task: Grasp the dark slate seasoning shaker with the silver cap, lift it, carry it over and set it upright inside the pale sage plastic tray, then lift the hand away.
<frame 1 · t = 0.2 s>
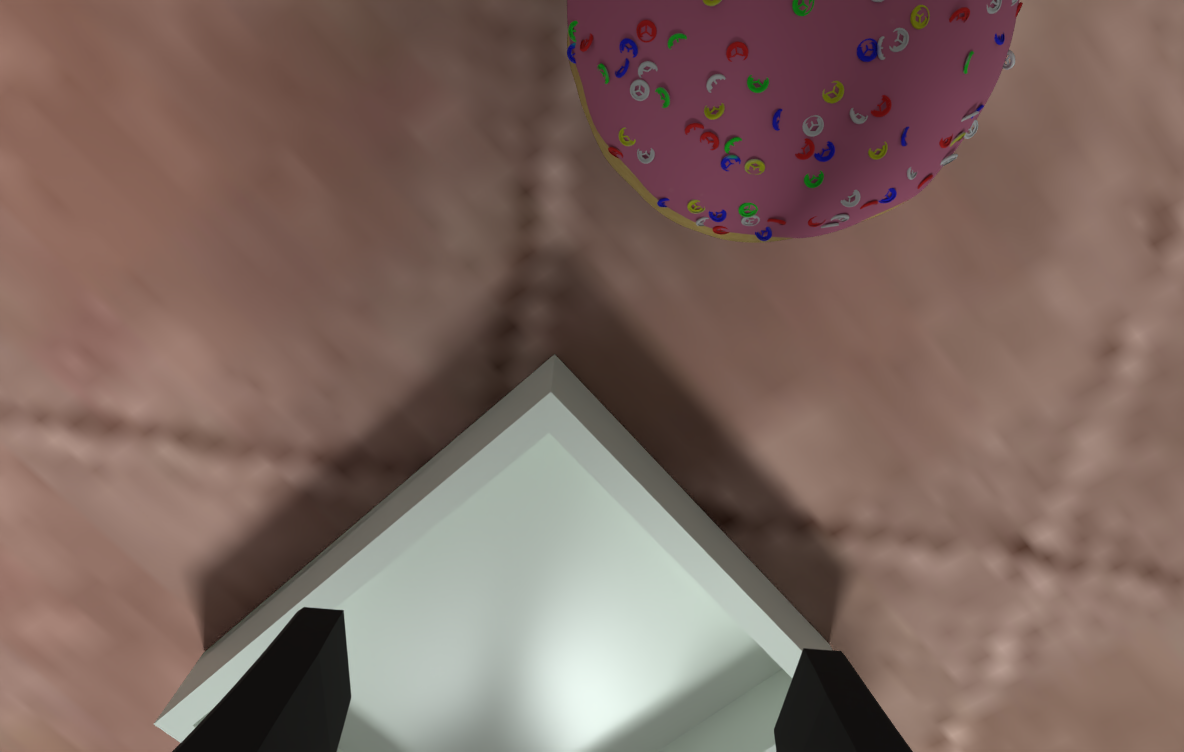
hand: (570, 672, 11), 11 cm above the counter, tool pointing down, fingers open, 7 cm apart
tray: (518, 648, 24), on the counter
cupcake: (737, 44, 18), on the counter
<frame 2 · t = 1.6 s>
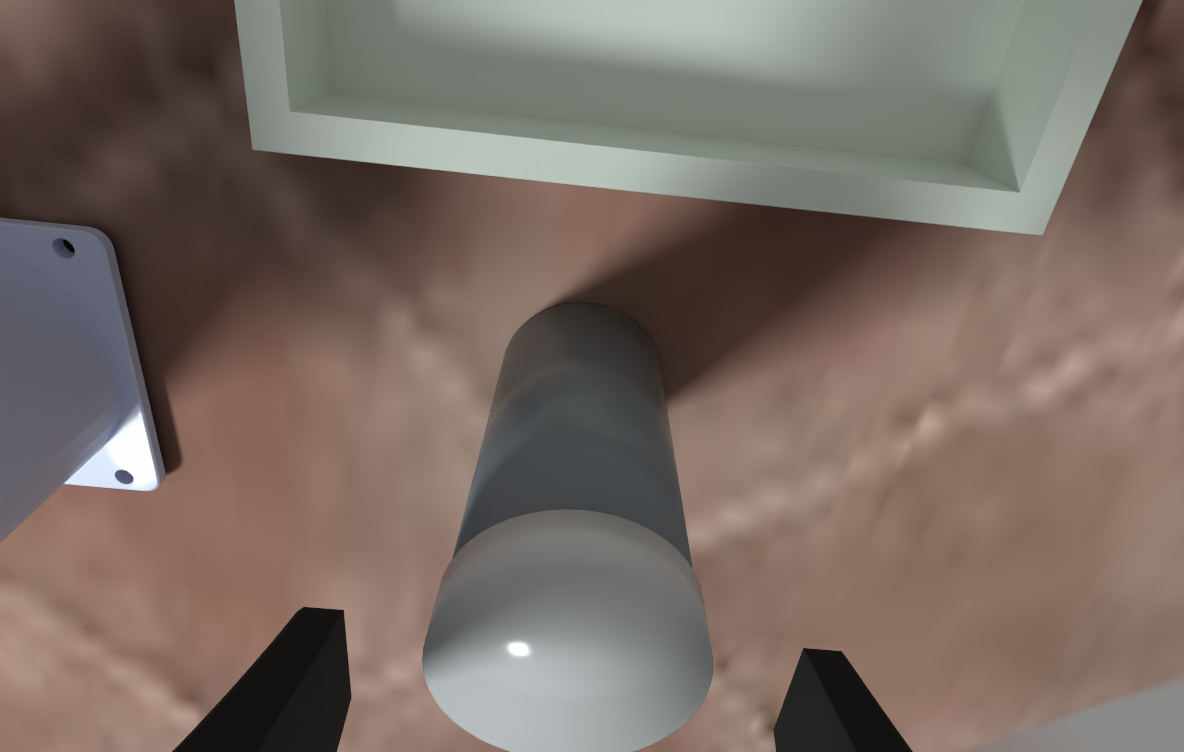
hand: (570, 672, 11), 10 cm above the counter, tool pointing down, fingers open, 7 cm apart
shaker: (581, 375, 20), on the counter
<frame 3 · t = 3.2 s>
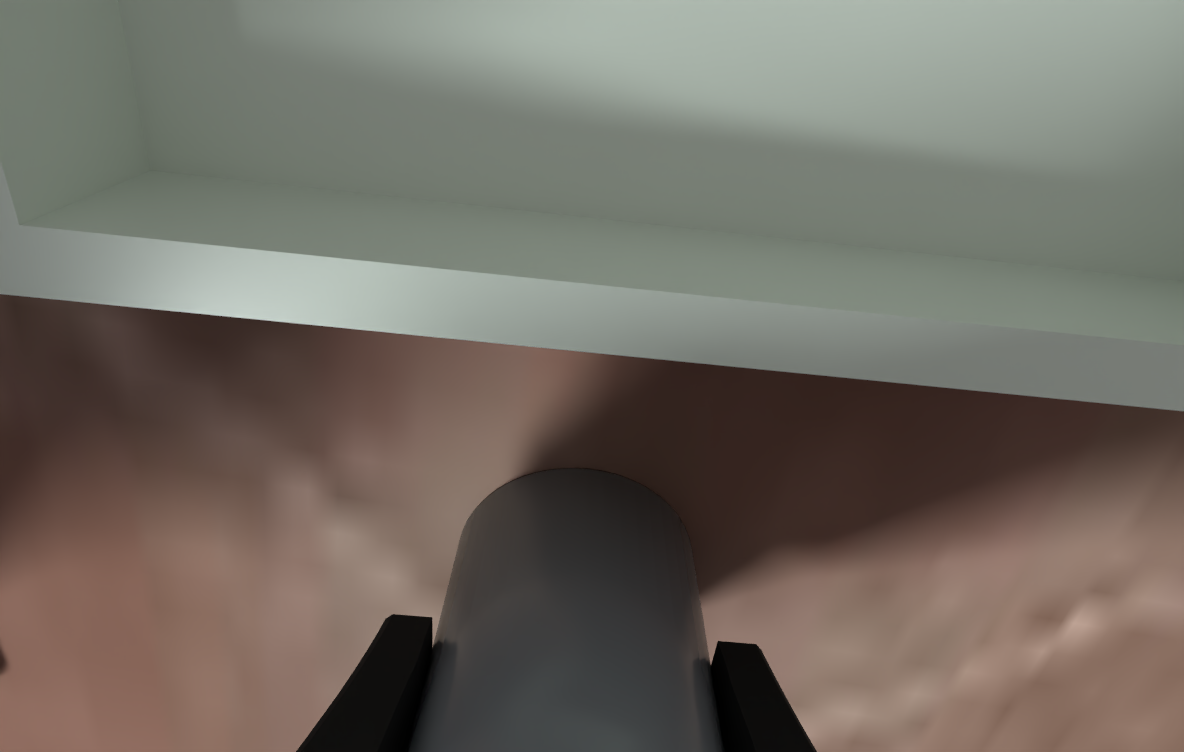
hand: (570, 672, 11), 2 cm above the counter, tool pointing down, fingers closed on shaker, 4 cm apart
shaker: (575, 563, 13), on the counter, touching gripper
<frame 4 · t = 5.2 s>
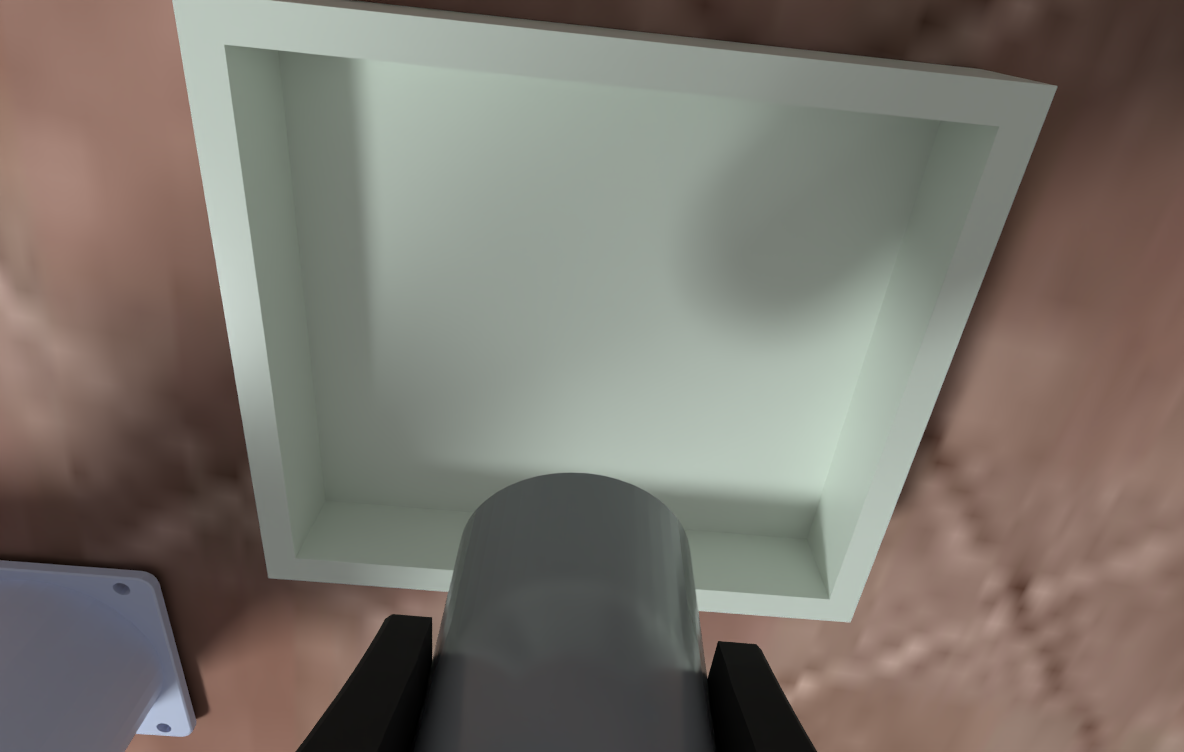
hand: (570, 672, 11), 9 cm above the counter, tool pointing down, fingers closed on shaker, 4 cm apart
tray: (589, 323, 19), on the counter
shaker: (574, 560, 14), point 7 cm above the counter, touching gripper
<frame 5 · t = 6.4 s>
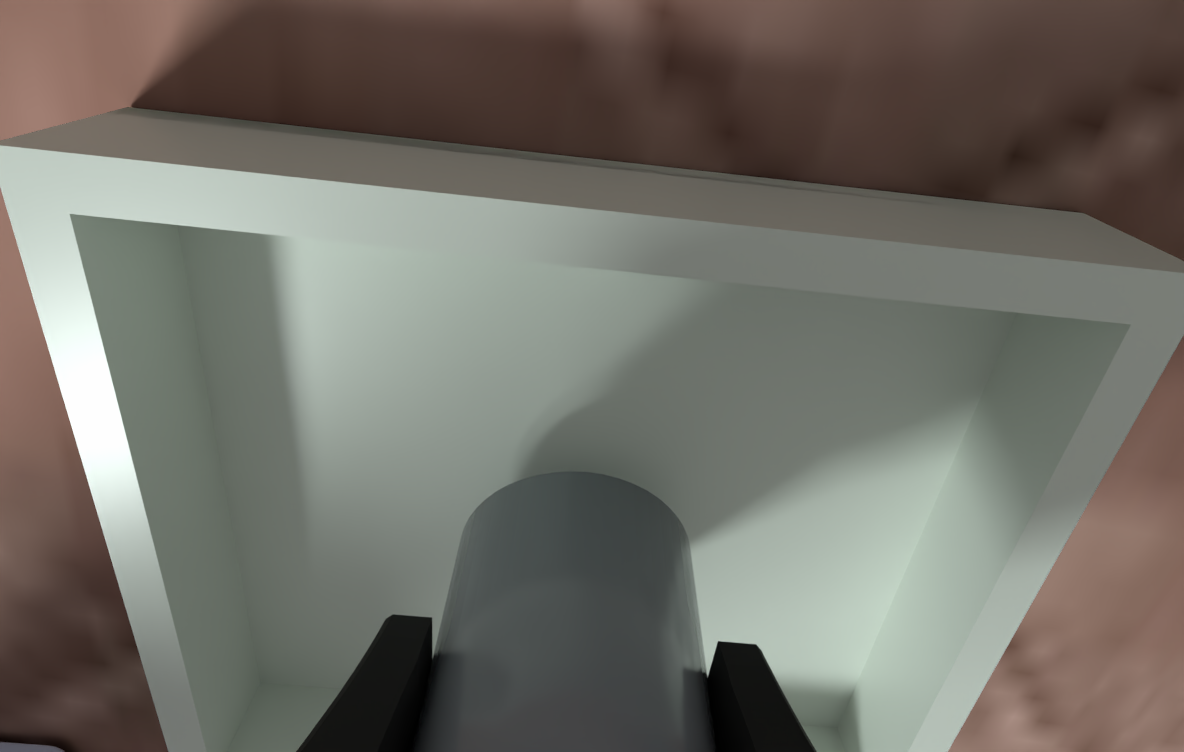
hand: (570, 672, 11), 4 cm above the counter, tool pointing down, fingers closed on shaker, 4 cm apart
tray: (578, 493, 15), on the counter
shaker: (575, 559, 14), point 2 cm above the counter, touching gripper
when the fingers open (4 cm above the counter, at t = 7.1 s): shaker drops 1 cm, resting on tray.
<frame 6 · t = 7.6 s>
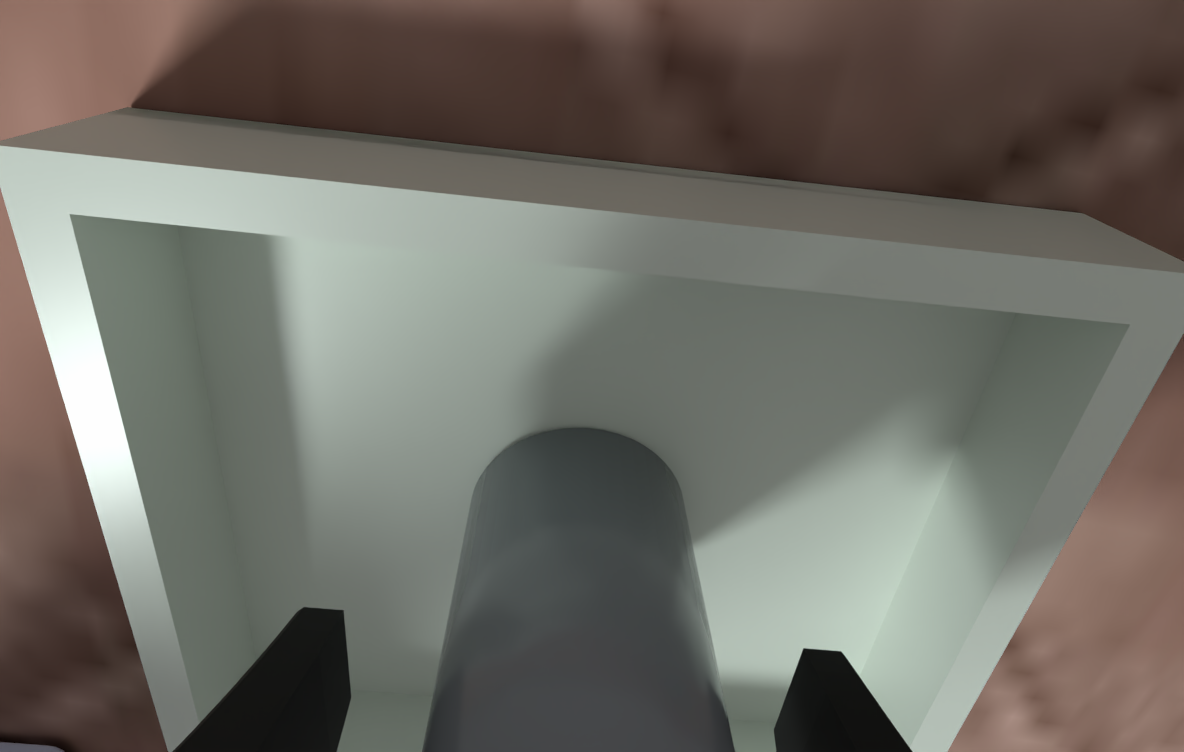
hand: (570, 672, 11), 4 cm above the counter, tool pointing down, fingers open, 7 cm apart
tray: (578, 493, 15), on the counter
shaker: (577, 516, 15), point 1 cm above the counter, touching tray
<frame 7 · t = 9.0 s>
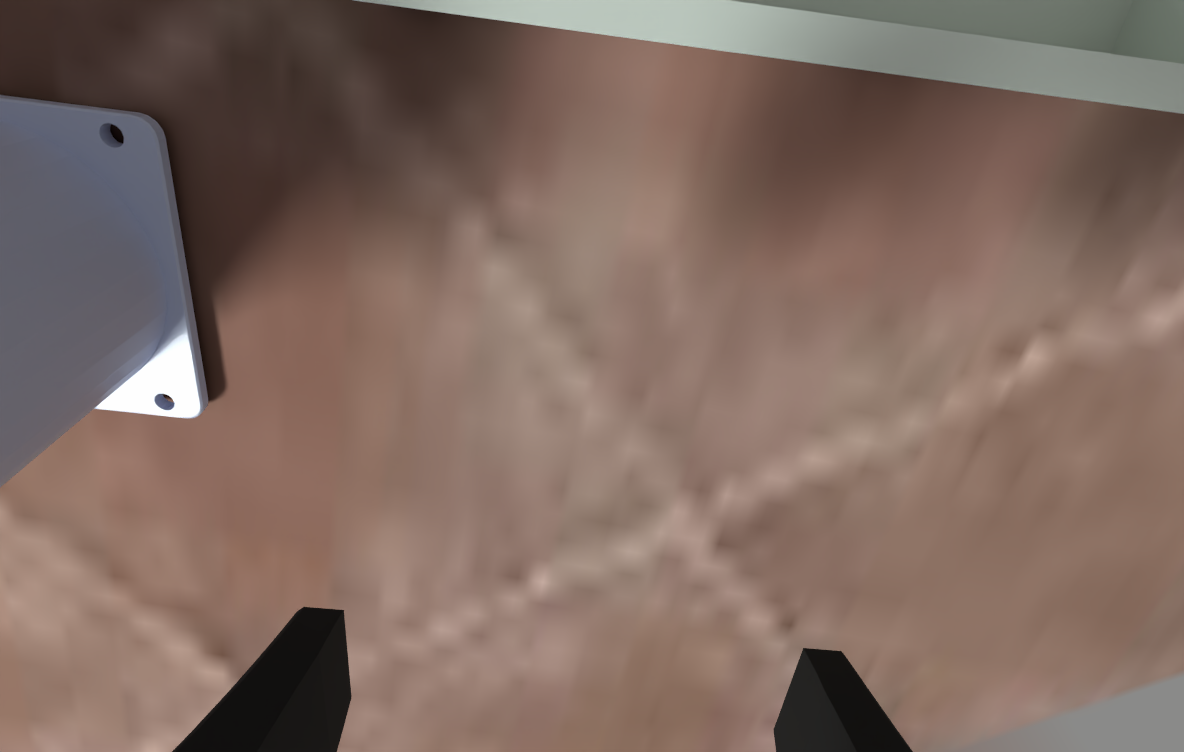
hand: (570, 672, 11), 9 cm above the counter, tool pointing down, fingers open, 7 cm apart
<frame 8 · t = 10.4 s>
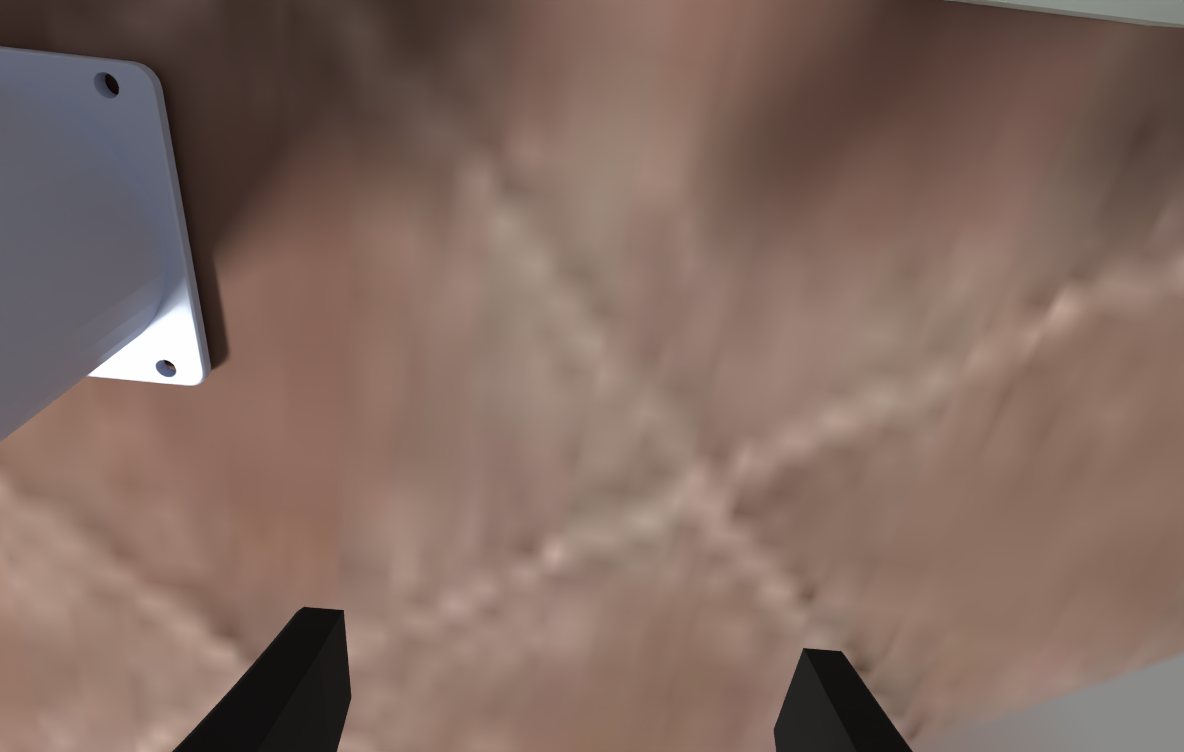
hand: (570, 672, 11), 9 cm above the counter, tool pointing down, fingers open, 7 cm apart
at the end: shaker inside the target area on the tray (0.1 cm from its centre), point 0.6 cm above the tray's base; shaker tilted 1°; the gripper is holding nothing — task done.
